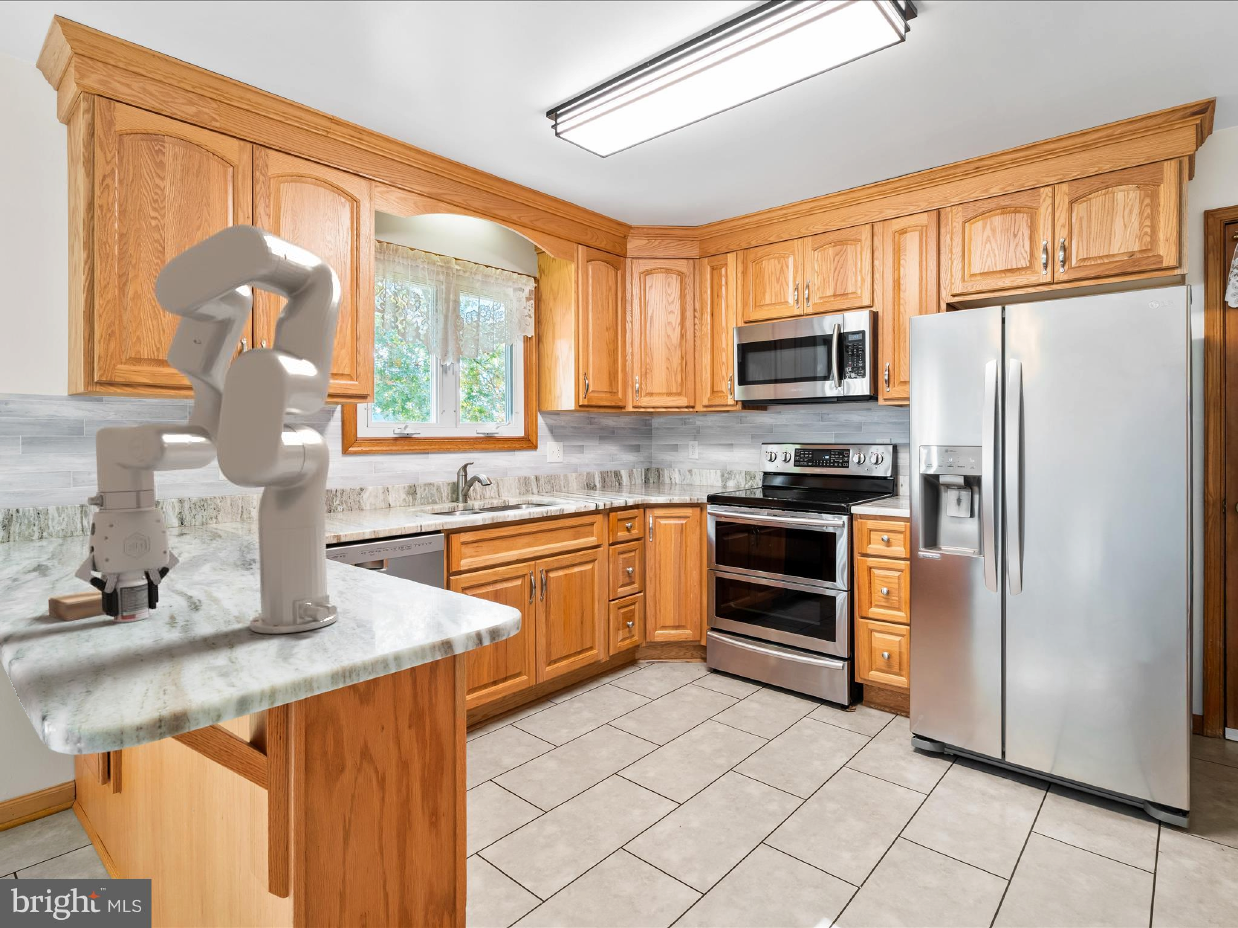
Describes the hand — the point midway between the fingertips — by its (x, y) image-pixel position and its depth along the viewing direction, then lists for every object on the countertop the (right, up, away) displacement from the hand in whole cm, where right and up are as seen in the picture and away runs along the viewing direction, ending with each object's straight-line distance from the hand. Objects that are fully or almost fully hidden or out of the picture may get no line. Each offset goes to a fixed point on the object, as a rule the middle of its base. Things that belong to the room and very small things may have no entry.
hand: (131, 610), depth 112 cm
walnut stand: (-11, -1, +5) cm, 12 cm away
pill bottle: (0, -2, 0) cm, 2 cm away
